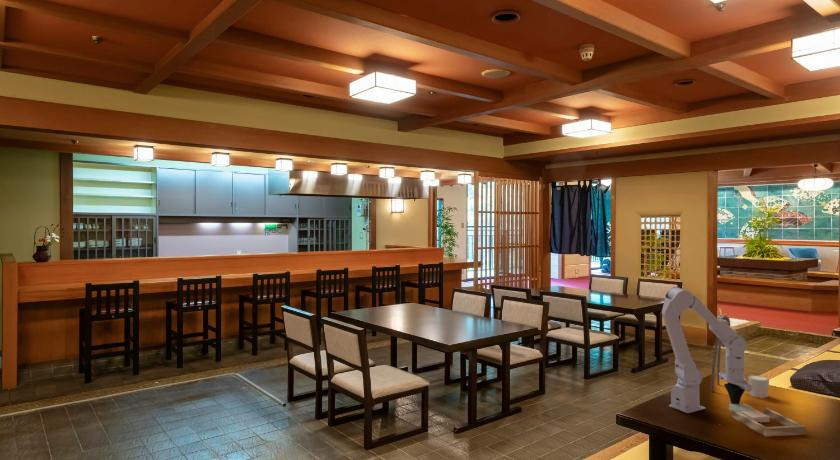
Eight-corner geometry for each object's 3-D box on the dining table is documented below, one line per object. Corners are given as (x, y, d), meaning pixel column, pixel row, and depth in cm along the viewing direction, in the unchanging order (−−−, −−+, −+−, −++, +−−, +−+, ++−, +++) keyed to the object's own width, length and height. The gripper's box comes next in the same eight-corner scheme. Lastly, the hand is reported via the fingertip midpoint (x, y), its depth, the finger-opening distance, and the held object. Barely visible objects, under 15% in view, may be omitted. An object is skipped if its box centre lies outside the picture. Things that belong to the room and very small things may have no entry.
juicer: (742, 392, 201) (741, 317, 200) (711, 391, 203) (711, 316, 202) (732, 384, 210) (732, 312, 210) (703, 383, 213) (702, 312, 212)
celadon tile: (729, 409, 184) (728, 404, 184) (744, 408, 185) (744, 403, 185) (740, 416, 179) (740, 410, 178) (756, 415, 179) (756, 409, 179)
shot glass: (768, 394, 199) (768, 376, 198) (769, 400, 193) (769, 381, 193) (748, 391, 202) (747, 374, 202) (748, 396, 196) (748, 379, 196)
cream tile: (740, 416, 179) (740, 410, 178) (756, 415, 179) (756, 410, 179) (753, 423, 173) (752, 417, 172) (769, 422, 173) (769, 416, 173)
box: (731, 416, 178) (731, 409, 178) (767, 414, 179) (767, 407, 179) (765, 436, 162) (765, 428, 162) (805, 434, 163) (805, 426, 163)
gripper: (760, 372, 178) (760, 411, 179) (731, 361, 193) (731, 396, 193) (740, 373, 178) (741, 412, 178) (713, 362, 192) (714, 397, 192)
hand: (735, 404), depth 185 cm, fingers closed
